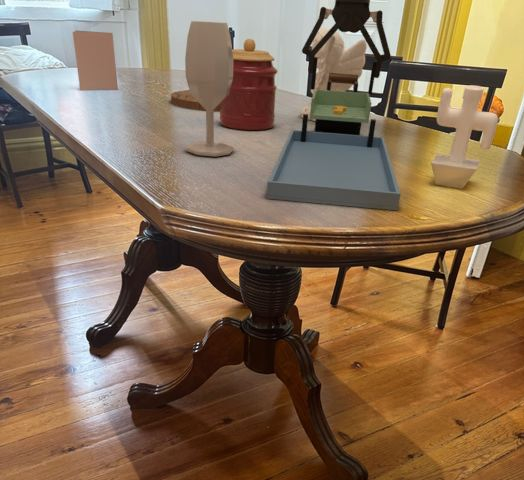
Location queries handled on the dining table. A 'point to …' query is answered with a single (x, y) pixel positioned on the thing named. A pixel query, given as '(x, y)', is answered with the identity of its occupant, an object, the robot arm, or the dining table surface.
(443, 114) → the figurine
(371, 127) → the stand
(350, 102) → the green dustpan
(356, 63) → the cherub figurine
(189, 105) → the trivet
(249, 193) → the dining table surface
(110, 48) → the greeting card
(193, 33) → the wineglass
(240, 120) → the kitchen canister
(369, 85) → the robot arm
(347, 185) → the tray
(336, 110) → the key
